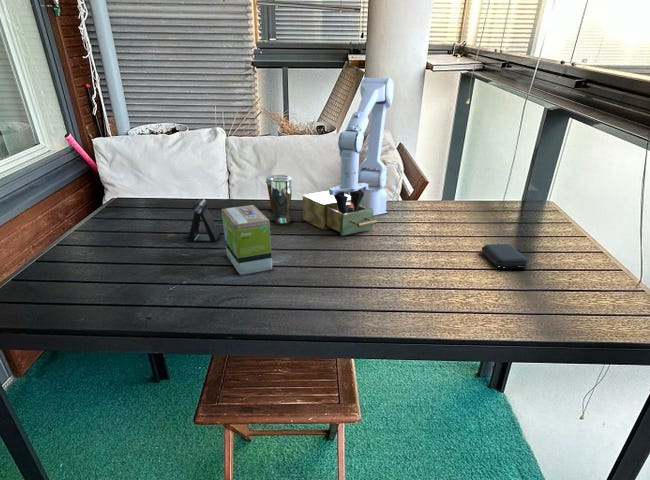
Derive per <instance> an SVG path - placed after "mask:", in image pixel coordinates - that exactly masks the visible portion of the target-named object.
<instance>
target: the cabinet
mask: <svg viewBox="0 0 650 480" xmlns="http://www.w3.org/2000/svg"><path fill="white" fill-rule="evenodd" d="M344 194H345V196H348V199H347V202H351V196H350V195H348V194H347V193H344ZM331 205H337V202H336V200H335V198H334V196H331V195H329V190H326V191H319V192H314V193H309V194H303V195H302V220H303V221H305V222H307V223H309V224H311V225H313V226H314V227H317V228H319V229H321V230H323V231H326V230H330V229H331V228H330V227H328V226H326V225H325V207H326V206H331Z"/></svg>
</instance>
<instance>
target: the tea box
mask: <svg viewBox="0 0 650 480" xmlns="http://www.w3.org/2000/svg"><path fill="white" fill-rule="evenodd" d="M221 219H222V226H223V233H224V234H223V235H224V242H225V251H226V256H227V258H228V259H229V261H230V263H231V264H232V265H233V267H234V269H236V271H237V273H238V274H239V275H240V276H243V275H249V274H255V273H261V272H267V271H271V270H273V256H272V239H271V224H270V219H268V218H267V216H266V215H265V214H264V213H262V211H260V210H259V209H258V208H257V207H256V206H255V205H254V204H249V205H242V206H241V205H240V206H235V207H227V208H221Z"/></svg>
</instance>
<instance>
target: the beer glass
mask: <svg viewBox="0 0 650 480" xmlns="http://www.w3.org/2000/svg"><path fill="white" fill-rule="evenodd" d="M292 191H293V190H292V178H291V176H289V177H285V176H278V177H273V178H272V182H271V192H272V200H273V204H274V209H275V212H274V219H273V223H274V224H276V225H279V226H282V225H283V226H284V225H290V224H291V223H292V218H291V204H292V195H293V194H292Z"/></svg>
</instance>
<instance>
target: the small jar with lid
mask: <svg viewBox="0 0 650 480" xmlns="http://www.w3.org/2000/svg"><path fill="white" fill-rule="evenodd" d="M350 212H355V206H354V205H353V203H351V202H347V203H346V212H345V213H350Z"/></svg>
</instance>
